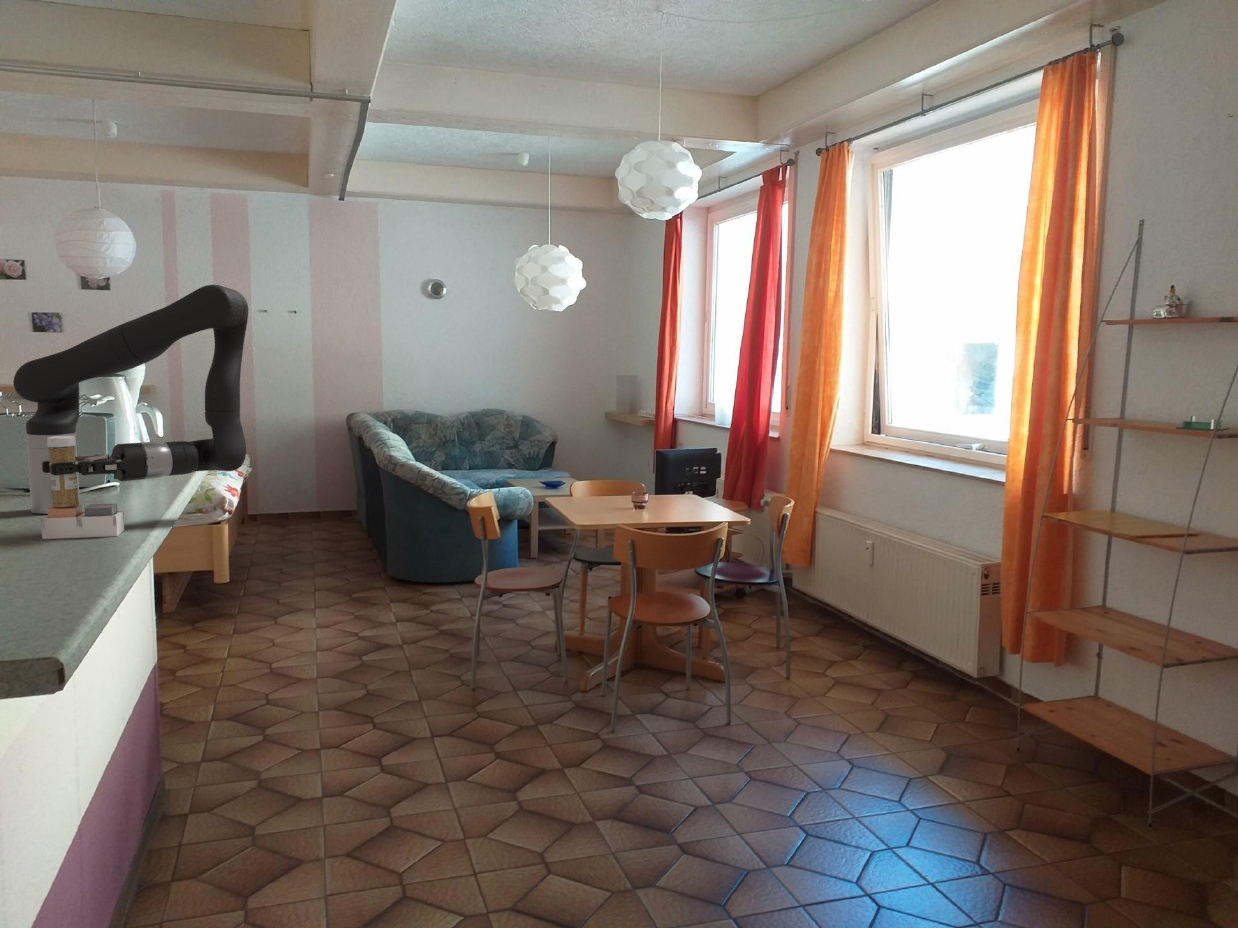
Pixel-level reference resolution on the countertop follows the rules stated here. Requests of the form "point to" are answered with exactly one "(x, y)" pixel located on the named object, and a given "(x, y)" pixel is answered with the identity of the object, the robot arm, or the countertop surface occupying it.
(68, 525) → the keypad
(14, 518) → the countertop surface
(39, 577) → the countertop surface
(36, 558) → the countertop surface
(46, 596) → the countertop surface
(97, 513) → the key charcoal
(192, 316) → the robot arm
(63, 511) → the key terracotta
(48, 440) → the sprinkles bottle
